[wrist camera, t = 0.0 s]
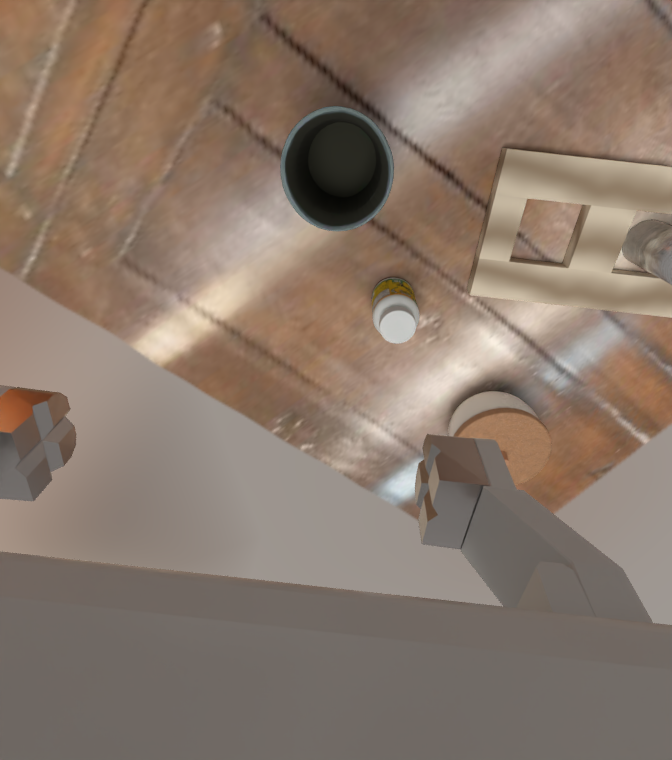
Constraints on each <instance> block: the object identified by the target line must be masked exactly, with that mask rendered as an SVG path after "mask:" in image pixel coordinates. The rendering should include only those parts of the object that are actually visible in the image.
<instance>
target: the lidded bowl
mask: <svg viewBox="0 0 672 760" xmlns="http://www.w3.org/2000/svg"><path fill="white" fill-rule="evenodd" d="M448 436H454V437H464V438H482V439H494V440H495V441H496V442H497V443H498V445H499V448H500V450H501V453H502V455H503V458H504V460H505V462H506V465H507V467H508V470H509V472H510V474H511V477H512V479H513V482H514V484H515V486H517V485H519V484H522V483H524V482H526V481H528V480H530V479H531V478H533V477H534V476H535V475H536V474H538V473H539V472H540V471H541V470H542V468H543V467H544V466H545V464H546V463H547V461H548V459H549V457H550V454H551V449H552V442H551V437H550V435H549V433H548V430H547V429H546V427H545V426H544V424H543V423H542V422H541V421H540V419H539V418H538V416H537V415H536V413H535V412H534V411H533V410H532V409H531V408H530V407H529V406H528V405H527V404H526V403H525V402H524V401H522V400H521V399H519V398H518V397H516V396H514V395H511V394H509V393H505V392H499V391H487V392H482V393H478V394H475V395H473V396H471V397H469V398H468V399H466V400H465V401H464V402H462V403H461V404H460V405H459V407H458V408H457V409H456V410H455V412H454V413H453V416H452V418H451V420H450V423H449V429H448Z"/></svg>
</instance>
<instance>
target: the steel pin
mask: <svg viewBox="0 0 672 760" xmlns="http://www.w3.org/2000/svg"><path fill="white" fill-rule="evenodd" d="M622 252H623V255H624V257H625V258H626V259H627V260H628V261H630V262H632V263H634V264H635V265H637V266H639V267H641V268H642V269H644V270H646V271H648V272H649V273H651V274H653V275H655V276H657V277H658V278H660V279H662V280H664V281H665V282H667V283H669V284H671V285H672V226H671V225H669V224H666V223H663V222H661V221H658V220H646V221H643V222H641V223H639V224H637V225H635V226H634V227H633V228H632V229H631V230H630V231H629V232H628V233H627V236H626V238H625V241H624V243H623V245H622Z"/></svg>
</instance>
